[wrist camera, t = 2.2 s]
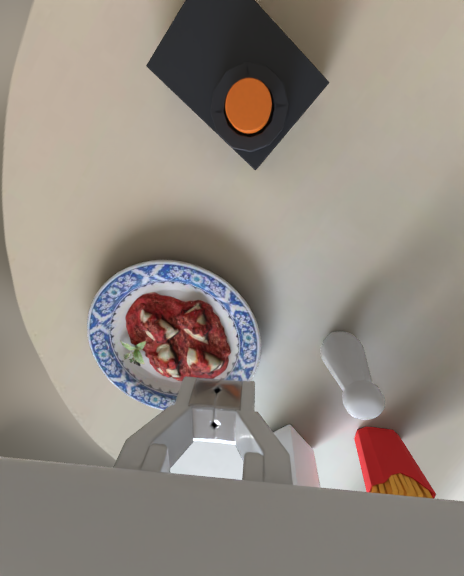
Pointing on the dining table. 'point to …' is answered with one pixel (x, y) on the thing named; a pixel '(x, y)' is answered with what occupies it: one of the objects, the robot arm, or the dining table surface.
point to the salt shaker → (352, 375)
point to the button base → (235, 69)
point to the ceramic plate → (170, 330)
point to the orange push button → (248, 105)
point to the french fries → (389, 464)
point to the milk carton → (299, 457)
